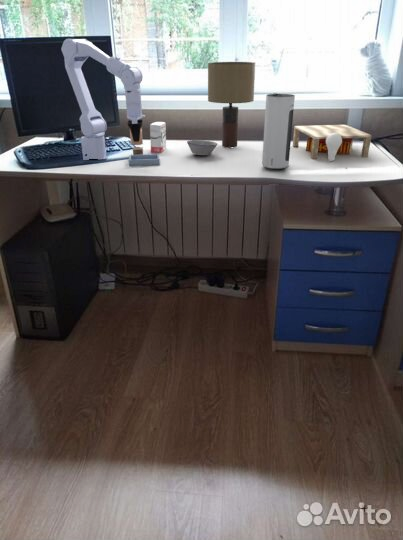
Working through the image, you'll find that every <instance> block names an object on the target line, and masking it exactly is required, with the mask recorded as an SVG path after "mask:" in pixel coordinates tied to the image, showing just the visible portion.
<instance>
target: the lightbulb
mask: <svg viewBox="0 0 403 540" xmlns="http://www.w3.org/2000/svg"><path fill="white" fill-rule="evenodd" d="M341 143H342V138H341V136H340V135H339V134H337V133H332V134H330V135H329V136H328V137H327V138H326V145H327V148H328V152H327V154H328V155H327V157H328V161H329V162H333V161H335V158H336V155H337V154H338V153H337V150H338V148H339V147H340V145H341Z"/></svg>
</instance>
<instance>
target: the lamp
mask: <svg viewBox="0 0 403 540" xmlns="http://www.w3.org/2000/svg"><path fill="white" fill-rule="evenodd" d="M255 74H256V62H254V61H213V62H210V61H209V62H207V101H208V102H209V103H213V104H228V106H227V105H226V106H223V107H222V123H221V124H222V125H221V126H222V129H221V130H222V131H221V132H222V133H221V145H222V146H221V147H223V146H224V147H223V148H227V147H233V148H236V147H238V131H239V128H238V127H239V106H234V105H233V104H247V103H252V102H254V100H255V98H254V97H255V77H256V75H255Z"/></svg>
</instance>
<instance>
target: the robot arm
mask: <svg viewBox="0 0 403 540" xmlns="http://www.w3.org/2000/svg"><path fill="white" fill-rule="evenodd" d="M61 53H62V55H63V57H64V59H63V60H64V67H65V70H66V73H67V76H68V78H69V82H70V83H71V86H72V89H73V92H74V95H75V97H76V101H77V103H78V106H79V109H80V111H81V115H80V116H79V122H80V130H81V132H82V134H83V135H84V136H81V137H80V145H81V151H82V152H81V153H82V158H83V159H82V160H83V161H90V160H89V159H98V160H107V159H108V156H107V157H106V154H107V151H106V142H105V141H106V140H105V134H106V133H105V132H106V131H107V127H108V125H107V121H106V120H105V119H104V118H103V116H102V113H101V112H99V111H98V110H97V109H96V107H95V105H94V101H93V99H92V96H91V93H90V90H89V87H88V84H87V81H86V79H85V76H84V72H83V71H82V66H83V65H84V63H85V62H86V61H87V59H88V58H89V57H90V58H92V59H93V60H95V61H97V62H99V63H100V64H102V65H103V66H106V67H105V68H106V70H107V72H109V73H111V75H114V76H115V77H117V78H118V79H120V81H121V83H122V85H123V89H124V92H125V93H124V95H125V107H126V118H127V126H128V128H129V131H130V130H131V133H132V137H133V141H134V142H138V141H139V139H140V130H141V128H142V126H143V118H146V115H145V114H143V110H142V109H143V108H142V94H141V83H142V81H143V73H142V70H140V69H139V68H138V67H134V66H133V67H132V66H131V64H129V63H126V62H125V61H123V60H121V57H120V56H115V55H114V56H109V55H108V54H107V53H105V52H104V51H102V50H101V49H100V48H99V47H97V46H96V45H95V44H93V42H91V41H89V40H88V39H86V38H66V39H65V40H63V42H62V46H61ZM86 154H87V156H85V155H86Z"/></svg>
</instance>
